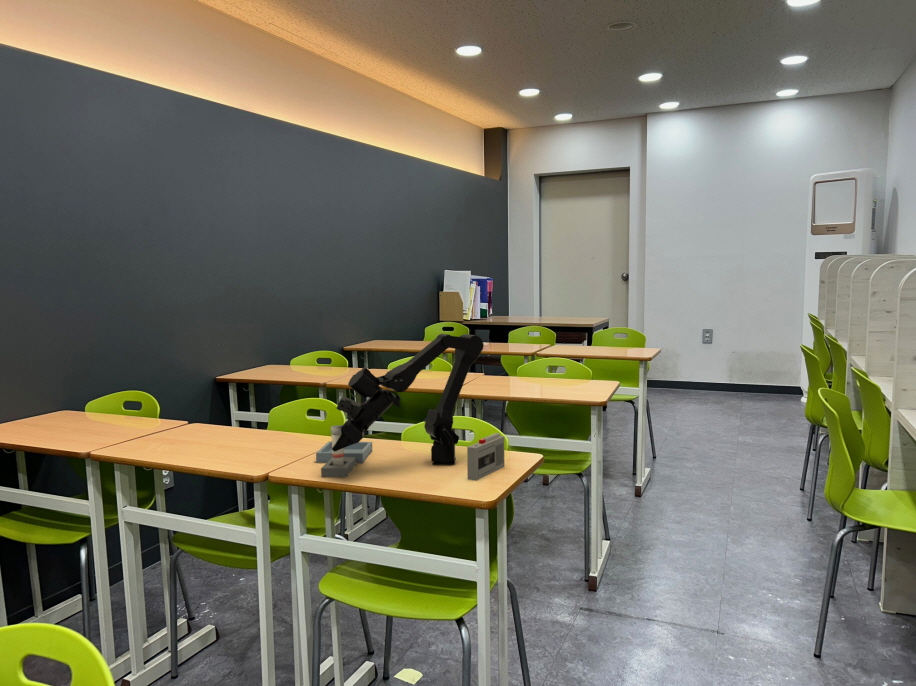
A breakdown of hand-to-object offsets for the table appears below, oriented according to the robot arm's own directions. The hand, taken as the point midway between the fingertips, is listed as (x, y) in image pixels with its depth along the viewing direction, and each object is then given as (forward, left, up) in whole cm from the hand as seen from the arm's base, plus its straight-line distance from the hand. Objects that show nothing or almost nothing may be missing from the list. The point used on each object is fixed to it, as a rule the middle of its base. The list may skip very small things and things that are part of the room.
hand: (335, 446), depth 184 cm
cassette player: (-42, -1, -8) cm, 43 cm away
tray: (+1, -16, -7) cm, 18 cm away
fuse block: (-1, -1, -7) cm, 8 cm away
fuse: (-1, 0, -7) cm, 7 cm away
